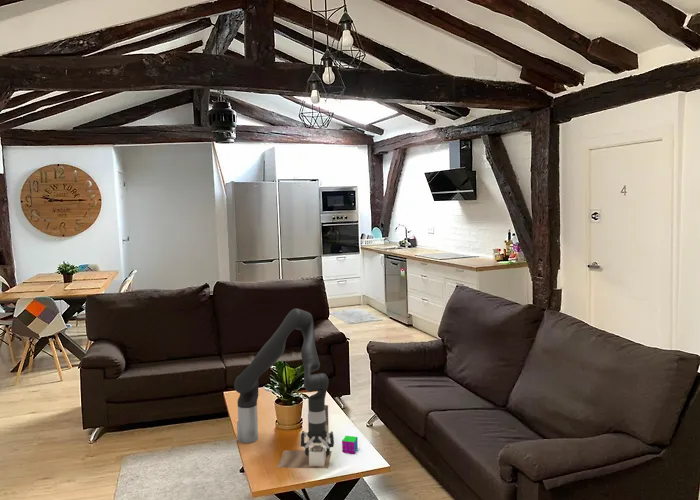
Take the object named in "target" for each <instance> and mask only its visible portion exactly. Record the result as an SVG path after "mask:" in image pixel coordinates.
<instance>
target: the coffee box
mask: <svg viewBox="0 0 700 500" xmlns="http://www.w3.org/2000/svg"><path fill="white" fill-rule="evenodd" d="M325 415H326V432H327V433H330V431H329V429H330V428H329V427H330V426H329V405H326V404H325ZM326 439H327V440H329V437H328V436H326Z"/></svg>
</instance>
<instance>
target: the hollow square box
mask: <svg viewBox="0 0 700 500" xmlns="http://www.w3.org/2000/svg"><path fill="white" fill-rule="evenodd" d="M313 447H314V445H310V446H309V466H324V464H325V460H326V446H325V445H322V452H313Z"/></svg>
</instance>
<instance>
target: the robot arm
mask: <svg viewBox="0 0 700 500" xmlns="http://www.w3.org/2000/svg"><path fill="white" fill-rule="evenodd" d="M314 327H315V326H314V318H313V315H312V313H310V312H309V311H306V310H303V309H300V308H293V309H291V310H290V311H289V312H288V313H287V315H286V316H285V317H284V319H283V320H282V322H281V324H280V325H279V327H278V328H277V329H276V331H274V333H273V334H272V335H271V337H270V338H269V339H268V340H267V341H266V342H265V343H264V345H263V346H262V347H261V349H259V351H258V352H257V354H256V355H255V357H254V358H253V359H252V361H251V362H250V364H249V365H248V366H247V367H245V369H243V371H242V372H241V373H240V374H239V375H237V376H236V378H235V380H234V382H233V388H234V390H235V391H236V393H238V394H239V396H238V399H237V422H236V432H237V433H236V436H237V437H236V438H237V442H238V443H239V442H240V443H241V444H251V443H255V442H256V441H258V440H259V429H258V428H259V426H258V424H259V422H258V399H259V379H260V377H261V376H262V375H263V374H265V372H266V371H268V370H269V369H270V368H272V366H273V365H274V364H275V363H276V362H277V361H278V360H279V359H280V358H281V356H282V355H283V354H284V352H285V349H286V342H287V338H288V337H289V336H290V334H291V333H292V332H293V331H294V330H297V331H300V332H301V334H302V337H303V344H302V347H301V351H300V353H301V354H300V355H301V361H302V364H303V369H304V370H303V371H304V374H303V375H304V376H303V387H304V389H305V390H306V392H310V393H311V392H316V393H313V394H312V395H310V396H309V397H308V400H307V402H308V403H307V404H308V413H307V425H308V427H307V428H308V430H307V431H308V432H307V431H304V430H302V431H301V433H300V435H301V436H300V447H304V451H305V454H306V455H307V456H309V450H310V446H311V444H312V443H313V444H316V443H318V444H323V446H326V457H328V455H329V454H330V451H331V449H330V448H334V445H335V438H334V432H333V431H331V432H329V433H327V432H326V415H325V405H326V404H325V403H326V402H325V401H326V395H327V391H328V386H329V381H330V380H329V377H328V376H327V374H326V373H324V372H323V373H322V372H321V373H320V372H319V373H314V372H316V371H318V370H319V369H320V367H321V363H320V359H319V355H318V352H317V348H316V347H317V346H316V340H315V339H316V338H315V337H316V336H315V328H314ZM312 373H314V374H312ZM326 436H328V439H329V440H330V441H328V439H326ZM306 437H308V440H307V441H306V442H305V438H306Z"/></svg>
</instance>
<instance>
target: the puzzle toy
mask: <svg viewBox="0 0 700 500" xmlns="http://www.w3.org/2000/svg"><path fill="white" fill-rule="evenodd" d="M358 442H359V440H358V436H352V435H345V436H344V437H343V438H342V442H341V446H342V447H341V448H342V449H341V450H342V453H344V454H351V455H355V454H356V452H357V450H358V449H359V448H358V447H359V446H358Z"/></svg>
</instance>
